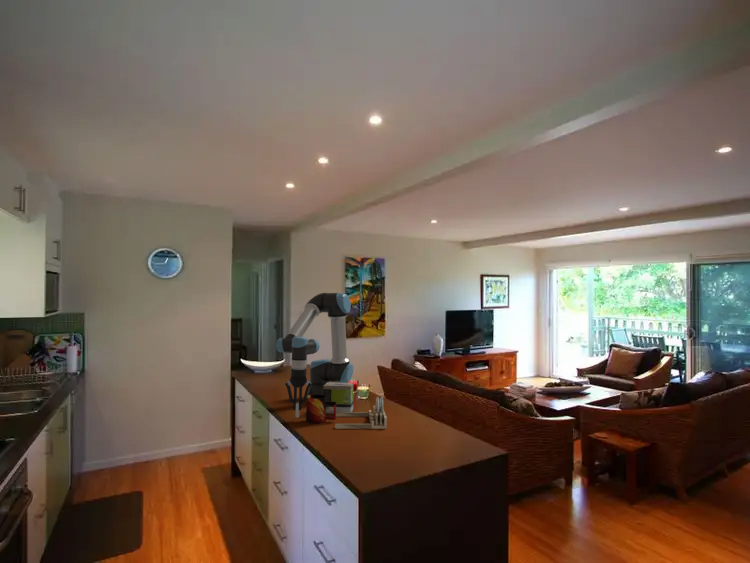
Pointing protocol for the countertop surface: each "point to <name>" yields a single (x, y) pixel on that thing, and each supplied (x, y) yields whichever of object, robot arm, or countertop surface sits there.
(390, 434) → the countertop surface
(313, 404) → the mug
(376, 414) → the dish rack
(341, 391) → the tea box
